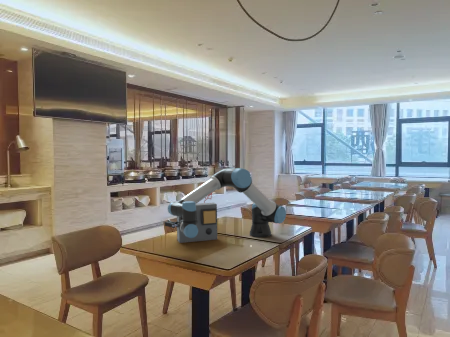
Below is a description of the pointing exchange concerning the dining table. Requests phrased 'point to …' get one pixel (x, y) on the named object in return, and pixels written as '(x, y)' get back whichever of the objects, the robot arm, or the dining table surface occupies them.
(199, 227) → the grey knob panel box
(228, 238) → the dining table surface
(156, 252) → the dining table surface
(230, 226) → the dining table surface
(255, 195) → the robot arm
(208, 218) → the switch key
